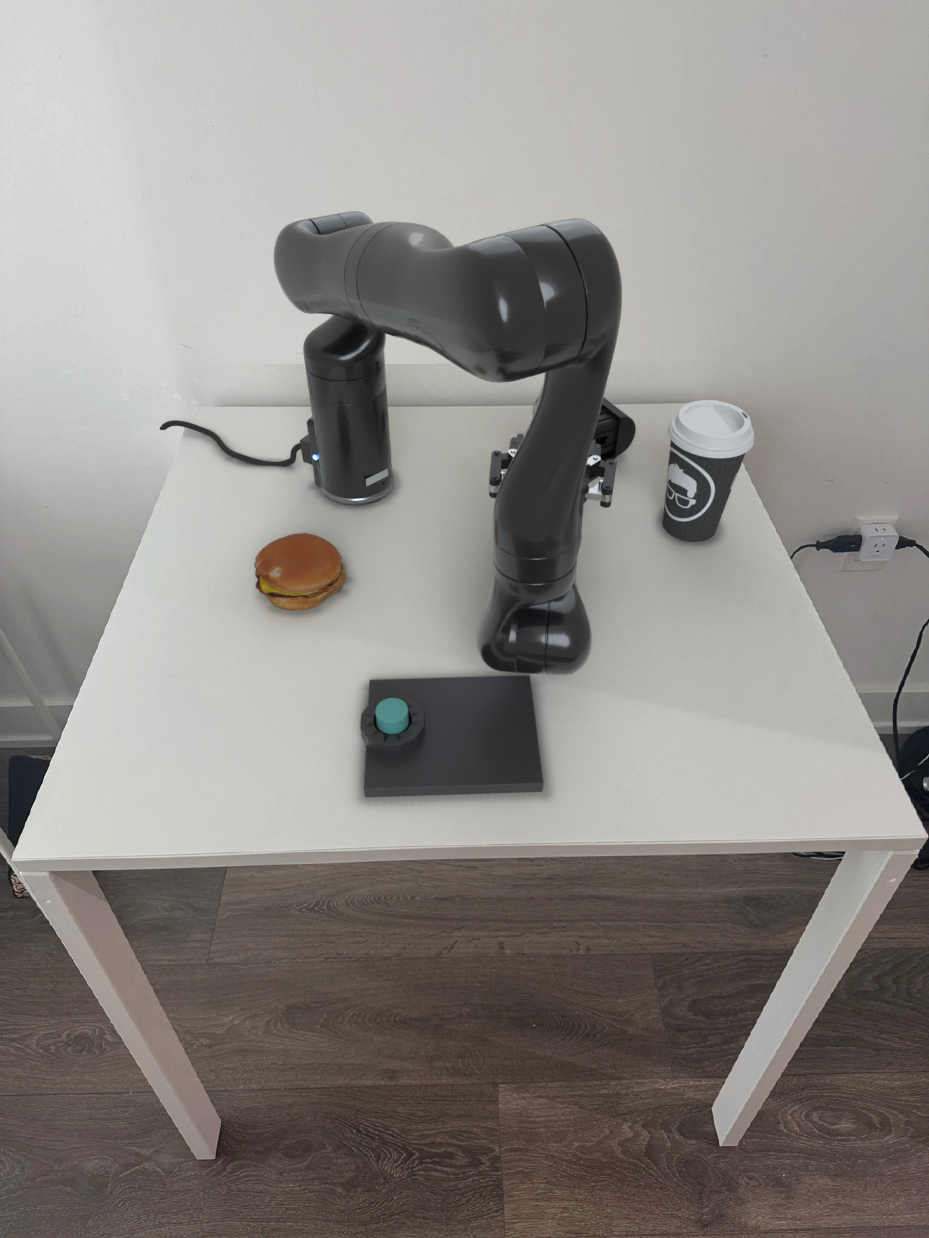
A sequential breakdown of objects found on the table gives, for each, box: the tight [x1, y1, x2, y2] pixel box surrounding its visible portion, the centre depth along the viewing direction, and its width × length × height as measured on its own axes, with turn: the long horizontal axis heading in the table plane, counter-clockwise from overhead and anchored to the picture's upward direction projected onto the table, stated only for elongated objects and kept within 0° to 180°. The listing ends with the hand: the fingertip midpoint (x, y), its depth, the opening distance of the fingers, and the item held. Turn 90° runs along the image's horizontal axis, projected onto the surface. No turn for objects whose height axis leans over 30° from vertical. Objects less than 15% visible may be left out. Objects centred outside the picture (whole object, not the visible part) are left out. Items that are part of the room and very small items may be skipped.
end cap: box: [593, 396, 637, 462], centre depth 116 cm, size 10×7×7 cm
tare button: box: [375, 698, 409, 735], centre depth 80 cm, size 3×3×2 cm
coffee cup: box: [662, 399, 755, 543], centre depth 101 cm, size 10×10×15 cm
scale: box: [359, 674, 544, 798], centre depth 81 cm, size 16×13×3 cm
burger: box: [253, 532, 347, 612], centre depth 96 cm, size 10×9×5 cm
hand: (555, 442), depth 103 cm, fingers open, 8 cm apart
